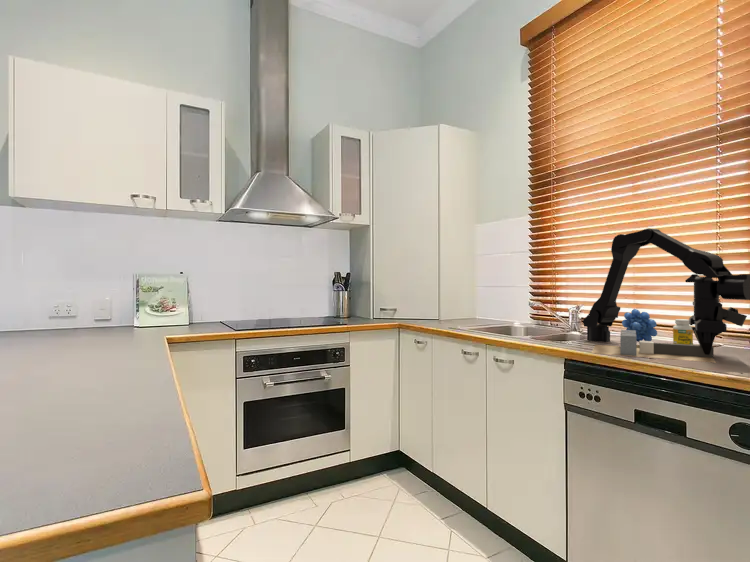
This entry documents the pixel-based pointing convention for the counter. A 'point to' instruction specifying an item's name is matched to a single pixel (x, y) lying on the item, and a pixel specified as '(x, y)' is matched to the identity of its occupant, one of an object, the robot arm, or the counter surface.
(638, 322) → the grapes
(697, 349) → the grey and white bar
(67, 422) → the counter surface
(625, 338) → the grey boxy piece
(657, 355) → the mounting board
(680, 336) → the supplement bottle
